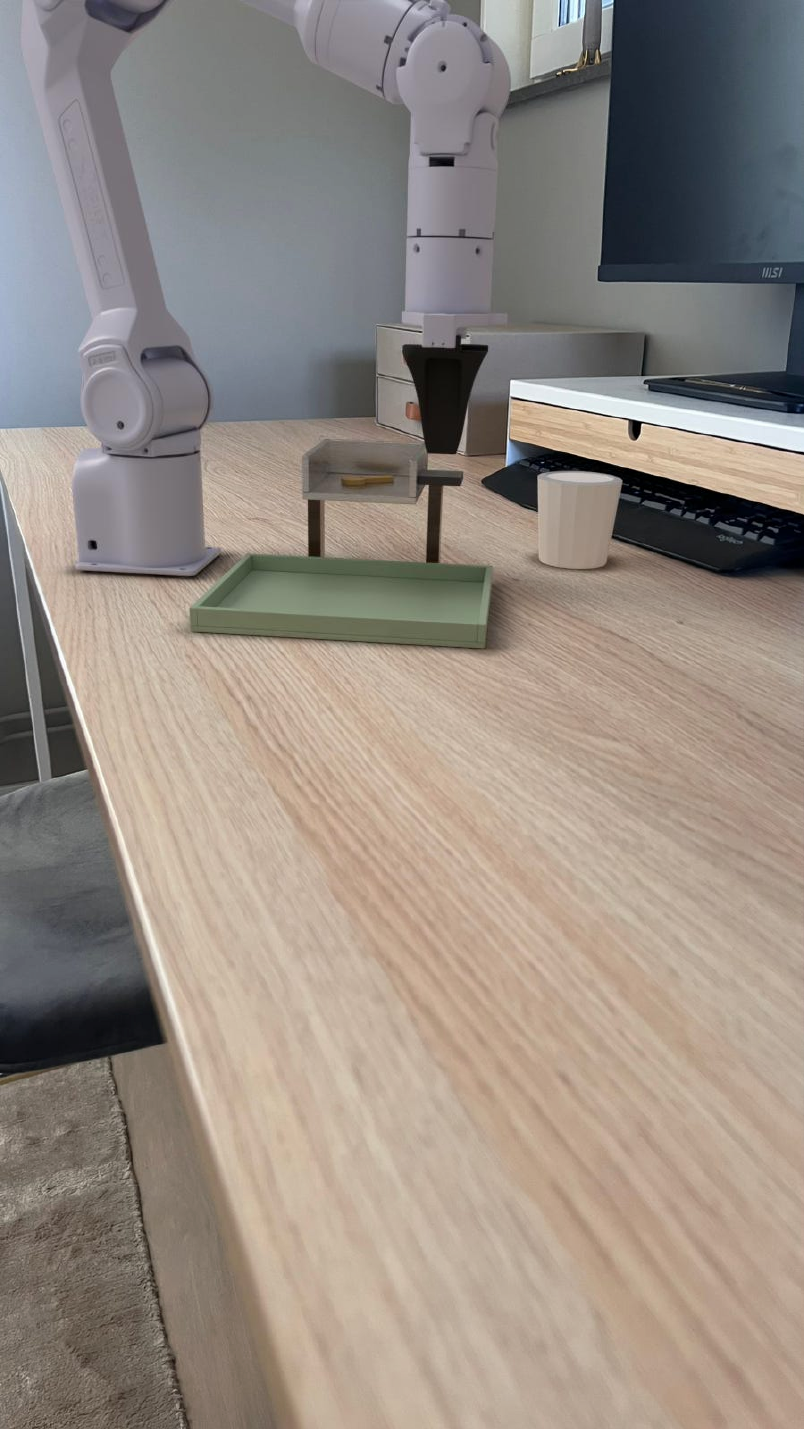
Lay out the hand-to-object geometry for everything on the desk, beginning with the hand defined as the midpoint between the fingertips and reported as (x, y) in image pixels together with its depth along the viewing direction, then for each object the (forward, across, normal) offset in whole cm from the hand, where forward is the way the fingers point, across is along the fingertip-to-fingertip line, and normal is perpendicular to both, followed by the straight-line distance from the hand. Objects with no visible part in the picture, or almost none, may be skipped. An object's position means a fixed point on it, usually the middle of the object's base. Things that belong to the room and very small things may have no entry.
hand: (442, 452), depth 72 cm
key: (+3, +2, +6) cm, 7 cm away
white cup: (+10, +12, -10) cm, 19 cm away
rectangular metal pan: (+3, +2, +4) cm, 6 cm away
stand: (+10, +6, +6) cm, 13 cm away
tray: (+10, -4, +6) cm, 12 cm away
